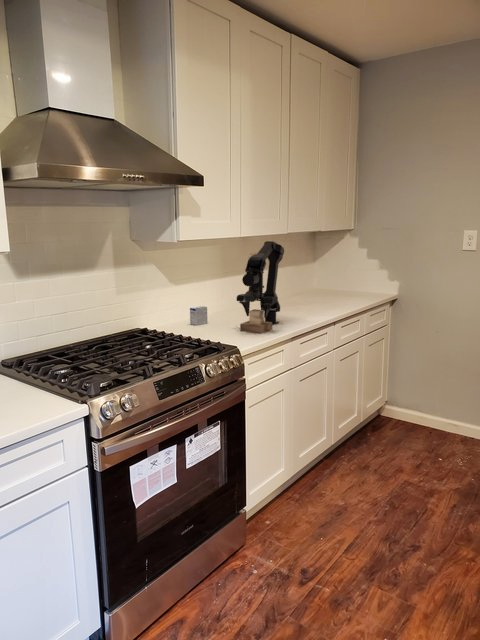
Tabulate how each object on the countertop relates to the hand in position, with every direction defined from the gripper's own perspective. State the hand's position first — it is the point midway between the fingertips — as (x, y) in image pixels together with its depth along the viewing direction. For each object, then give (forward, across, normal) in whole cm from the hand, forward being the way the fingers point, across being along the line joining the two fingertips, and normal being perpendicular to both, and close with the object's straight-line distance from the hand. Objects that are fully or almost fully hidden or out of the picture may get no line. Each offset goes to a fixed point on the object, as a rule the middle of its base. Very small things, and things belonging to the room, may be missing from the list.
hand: (256, 317), depth 240 cm
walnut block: (+7, 0, 0) cm, 7 cm away
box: (+7, -32, -1) cm, 33 cm away
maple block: (+3, 0, 0) cm, 3 cm away
